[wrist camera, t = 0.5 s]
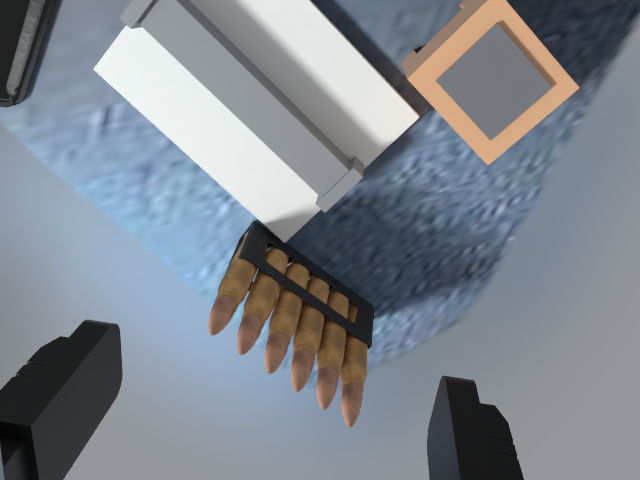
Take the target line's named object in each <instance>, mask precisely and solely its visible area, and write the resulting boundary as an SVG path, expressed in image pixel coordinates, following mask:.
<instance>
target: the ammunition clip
mask: <svg viewBox="0 0 640 480" xmlns="http://www.w3.org/2000/svg"><path fill="white" fill-rule="evenodd" d="M257 269H259V270H258V272H257V275H256V277H255V279H254V282H252V281H253V278H254V276H255V274H256V271H257ZM280 285H281V286H280ZM279 288H280V289H279ZM248 291H249V294H248V297H247V299H246V302H245V304H244V314H243V317H242V321H241V324H240V327H239V331H238V336H237V348H238V352H239V354H240V355H243V354H245V353H247V352H248V351H249V350H250V349H251V348H252V347H253V345H254V344H255V342H256V340H257V339H258V337H259V335H260V333H261V330H262V328H263V326H264V324H265V321H266V320H267V319H268V317H269V316H270V314H271V312H272V309H273V312H272V315H271V318H270V322H269V334H268V341H267V344H266V350H265V367H266V370H267V372H268V373H269V374H272V373H273V372H274V371H276V370H277V369H278V367H279V366H280V364H281V363H282V361H283V359H284V357H285V355H286V352H287V349H288V345H289V344H290V341H291V338H292V336H293V334H294V339H293V348H294V351H293V359H292V365H291V379H292V385H293V388H294V390H295V391H296V392H299V391H300V390H301V389H303V387H304V386H305V384H306V383H307V381H308V379H309V377H310V374H311V371H312V367H313V362H314V360H315V356H316V352H317V365H318V369H317V385H316V386H317V397H318V401H319V404H320V407H321V408H322V409H323V410H325V409H327V408H328V406H329V405H330V403H331V402H332V400H333V398H334V395H335V392H336V388H337V383H338V378H339V372H340V379H341V392H342V394H341V405H342V412H343V416H344V419H345V422H346V424H347V425H348V426H349V427H352V426H353V425H354V423H355V422H356V420H357V418H358V415H359V412H360V408H361V403H362V393H363V385H364V382H365V379H366V374H367V349H369V348H370V347H371V346H372V331H373V319H374V307H373V306H372V305H371V304H369V303H368V302H367V301H365V300H364V299H362V298H361V297H360V296H358V295H357V294H355V293H354V292H353V291H351V290H350V289H349V288H347V287H346V286H344V285H343V284H342V283H340V282H339V281H337V280H336V279H335V278H333V277H332V276H331V275H329V274H328V273H326V272H325V271H324V270H322V269H321V268H319V267H318V266H317V265H315V264H314V263H313V262H311V261H310V260H308V259H307V258H306V257H304V256H303V255H301V254H300V253H299V252H297V251H296V250H295V249H293V248H292V247H290V246H289V245H288V244H286V243H284V242H283V241H282V240H281V239H279V238H278V237H277V236H275V235H274V234H272V233H271V232H270V231H268V230H267V229H265V228H264V227H263V226H261V225H260V224H259V223H257V222H256V221H254V222H252V224H251V225H250V226H249V228H248V229H247V230H246V231H245V233H244V234H243V235H242V237H241V238H240V239H239V242H238V244H237V247H236V249H235V251H234V254H233V256H232V259H231V261H230V263H229V266H228V268H227V271H226V273H225V276H224V278H223V279H222V281H221V283H220V285H219V289H218V295H217V297H216V300H215V303H214V305H213V307H212V310H211V313H210V317H209V326H208V329H209V333H210V335H212V336H213V335H216V334H218V333H219V332H220V331H221V330H223V329H224V327H225V326H226V325H227V324H228V323H229V321H230V320H231V318H232V316H233V314H234V312H235V311H236V309H237V307H238V305H239V304H240V303H241V302H242V301H243V300H244V298H245V296H246V294H247V292H248ZM278 291H279V292H278ZM277 294H278V296H277ZM276 297H277V299H276ZM294 332H295V333H294ZM367 345H368V348H367Z"/></svg>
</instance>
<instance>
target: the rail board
mask: <svg viewBox="0 0 640 480" xmlns="http://www.w3.org/2000/svg"><path fill="white" fill-rule="evenodd" d="M119 18H120V19H121V20H122V21H123V22H124V23H125V24H126V26H125V28H124V29H123V30H122V32H121V33H120V34H119V36H118V37H117V38H116V40H115V41H114V42H113V44H112V45H111V46H110V48H109V49H108V50H107V52H106V53H105V54H104V56H103V57H102V58H101V60H100V61H99V62H98V64H97V65H96V66H95V68H94V70H95V71H96V72H97V73H98V74H99V75H100V76H101V77H102V78H103V79H105V80H106V81H107V82H108V83H109V84H110V85H111V86H112V87H113V88H114V89H116V90H117V91H118V92H119V93H120V94H121V95H122V96H123V97H124V98H125V99H127V100H128V101H129V102H130V103H131V104H132V105H133V106H134V107H135V108H136V109H138V110H139V111H140V112H141V113H142V114H143V115H144V116H145V117H146V118H147V119H149V120H150V121H151V122H152V123H153V124H154V125H155V126H156V127H157V128H158V129H160V130H161V131H162V132H163V133H164V134H165V135H166V136H167V137H168V138H169V139H171V140H172V141H173V142H174V143H175V144H176V145H177V146H178V147H179V148H180V149H182V150H183V151H184V152H185V153H186V154H187V155H188V156H189V157H190V158H191V159H193V160H194V161H195V162H196V163H197V164H198V165H199V166H200V167H201V168H202V169H204V170H205V171H206V172H207V173H208V174H209V175H210V176H211V177H212V178H213V179H215V180H216V181H217V182H218V183H219V184H220V185H221V186H222V187H223V188H224V189H226V190H227V191H228V192H229V193H230V194H231V195H232V196H233V197H234V198H235V199H237V200H238V201H239V202H240V203H241V204H242V205H243V206H244V207H245V208H246V209H248V210H249V211H250V212H251V213H252V214H253V215H254V216H255V217H256V218H257V219H259V220H260V221H261V222H262V223H263V224H264V225H265V226H266V227H267V228H268V229H270V230H271V231H272V232H273V233H274V234H275V235H276V236H277V237H278V238H279V239H281V240H282V241H283V242H284V243H286V242H287V241H288V240H289V239H290V238H291V237H292V236H293V235H294V234H295V233H296V232H297V231H298V230H299V229H301V228H302V227H303V226H304V225H305V224H306V223H307V222H308V221H309V220H310V219H311V218H312V217H313V216H314V215H316V214H317V213H318V212H319V211H320V210H322V211H324V212H327V211H328V210H329V209H330V208H331V207H332V206H333V205H334V204H335V203H336V202H337V201H338V200H340V199H341V198H342V197H343V196H344V195H345V194H346V193H347V192H348V191H349V190H350V189H351V188H352V187H354V186H355V185H356V184H357V183H358V182H359V181H360V180H361V179H362V178H363V175H364V169H365V168H366V167H367V166H368V165H369V164H370V163H371V162H372V161H373V160H374V159H376V158H377V157H378V156H379V155H380V154H381V153H382V152H383V151H384V150H385V149H386V148H387V147H388V146H389V145H391V144H392V143H393V142H394V141H395V140H396V139H397V138H398V137H399V136H400V135H401V134H402V133H403V132H404V131H406V130H407V129H408V128H409V127H410V126H411V125H412V124H413V123H414V122H415V121H416V120H417V119H418V118H419V114H418V113H417V112H416V111H415V110H414V109H413V108H412V107H411V106H410V105H409V104H408V102H407V101H406V100H405V99H404V98H403V97H402V96H401V95H400V94H399V93H398V92H397V91H396V90H395V89H394V88H393V87H392V86H391V84H390V83H389V82H388V81H387V80H386V79H385V78H384V77H383V76H382V75H381V74H380V73H379V72H378V71H377V70H376V69H375V68H374V66H373V65H372V64H371V63H370V62H369V61H368V60H367V59H366V58H365V57H364V56H363V55H362V54H361V53H360V52H359V51H358V50H357V48H356V47H355V46H354V45H353V44H352V43H351V42H350V41H349V40H348V39H347V38H346V37H345V36H344V35H343V34H342V33H341V32H340V30H339V29H338V28H337V27H336V26H335V25H334V24H333V23H332V22H331V21H330V20H329V19H328V18H327V17H326V16H325V15H324V14H323V12H322V11H321V10H320V9H319V8H318V7H317V6H316V5H315V4H314V3H313V2H312V1H311V0H132V1H131V2H130V4H129V5H128V7H127V8H126V9H125V11H124V12H123V13H122V15H121V16H120V17H119Z"/></svg>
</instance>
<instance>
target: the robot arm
mask: <svg viewBox="0 0 640 480" xmlns="http://www.w3.org/2000/svg"><path fill="white" fill-rule="evenodd" d="M121 382H122V357H121V340H120V329H119V326H118V325H117V324H113V323H106V322H100V321H94V320H85V321H83V322H82V324H81V325H80V326H79V327H78V328H77V329H76V330H75V331H74V333H73V334H72V335H71V336H70V337H69V338H68V337H61V336H60V337H59V338H57V339H55V340H53V341H51V342H50V343H48V344H46V345H44V346H43V347H41V348H40V349H39V350H38V351H37V352H36V353H35V354H34V355H33V356H32V357H31V358H30V359H29V360H28V362H27V365H24V366H23V367H22V368H21V369H20V370H19V371H18V372H17V373H16V376H15V377H12V378H11V379H10V381H9V382H8V383H7V384H6V385H5V386H4V387H3V388H2V389H1V390H0V480H63V479H64V478H65V476H66V474H67V473H68V471H69V470H70V468H71V467H72V465H73V464H74V462H75V461H76V459H77V458H78V456H79V455H80V453H81V451H82V450H83V448H84V447H85V445H86V444H87V442H88V441H89V439H90V438H91V436H92V435H93V433H94V431H95V430H96V428H97V427H98V425H99V424H100V422H101V421H102V419H103V418H104V416H105V414H106V413H107V411H108V410H109V408H110V407H111V405H112V403H113V402H114V400H115V399H116V397H117V395H118V393H119V390H120V386H121ZM427 454H428V465H429V477H430V480H524V479H523V475H522V471H521V468H520V464H519V461H518V460H517V453H516V450H515V446H514V444H513V439H512V435H511V432H510V428H509V425H508V422H507V421H506V419H505V418H504V417H503V416H502V414H501V413H500V412H499V410H498V409H497V408H496V406H494V405H488V404H481V403H480V401H479V397H478V393H477V388H476V384H475V381H473V380H468V379H462V378H455V377H449V376H442V378H441V380H440V384H439V387H438V392H437V395H436V399H435V404H434V407H433V412H432V416H431V419H430V423H429V429H428V437H427Z"/></svg>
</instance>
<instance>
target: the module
mask: <svg viewBox="0 0 640 480" xmlns="http://www.w3.org/2000/svg"><path fill="white" fill-rule="evenodd" d="M459 6H460V7H461V8H462V10H460V11H459V12H458V13H457V14H456V15H455V16H454V17H453V18H452V19H451V20H450V21H449V22H448V23H447V24H446V25H445V26H444V27H443V28H442V29H441V30H440V31H439V32H438V33H437V34H436V35H435V36H434V37H433V38H432V39H431V40H430V41H429V42H428V43H427V44H426V45H425V46H424V47H423V48H422V49H421V50H420V51H419V52H418V53H416V52H415V51H414V50H413V51H412V52H411V53H410V54H409V55H408V56H407V57H406V58H405V59H404V60H403V61H402V62H401V64H402V67H403V69H404V72H405V75H406V77H407V79H408V80H409V81H410V83H411V84H412V85H413V86H414V87H415V88H416V89H417V90H418V91H419V92H420V93H421V94H422V95H423V97H424V98H425V99H426V100H427V101H428V102H429V103H430V104H431V105H432V106H433V107H434V108H435V109H436V110H437V112H438V113H439V114H440V115H441V116H442V117H443V118H444V119H445V120H446V121H447V122H448V123H449V124H450V125H451V127H452V128H453V129H454V130H455V131H456V132H457V133H458V134H459V135H460V136H461V137H462V138H463V139H464V141H465V142H466V143H467V144H468V145H469V146H470V147H471V148H472V149H473V150H474V151H475V152H476V153H477V154H478V156H479V157H480V158H481V159H482V160H483V161H484V162H485V163H486V164H487V165H489V164H490V163H492V162H493V161H494V160H495V159H496V158H497V157H499V156H500V155H501V154H502V153H503V152H505V151H506V150H507V149H508V148H509V147H510V146H512V145H513V144H514V143H515V142H516V141H518V140H519V139H520V138H521V137H522V136H523V135H525V134H526V133H527V132H528V131H529V130H531V129H532V128H533V127H534V126H535V125H536V124H538V123H539V122H540V121H541V120H542V119H544V118H545V117H546V116H547V115H548V114H549V113H551V112H552V111H553V110H554V109H555V108H557V107H558V106H559V105H560V104H561V103H562V102H564V101H565V100H566V99H567V98H568V97H570V96H571V95H572V94H573V93H574V92H575V91H577V90H578V89H579V87H578V85H577V84H576V83H575V82H574V81H573V79H572V78H571V77H570V76H569V75H568V74H567V72H566V71H565V70H564V69H563V68H562V66H561V65H560V64H559V63H558V62H557V60H556V59H555V58H554V57H553V56H552V54H551V53H550V52H549V51H548V50H547V49H546V47H545V46H544V45H543V44H542V43H541V41H540V40H539V39H538V38H537V37H536V35H535V34H534V33H533V32H532V31H531V30H530V28H529V27H528V26H527V25H526V24H525V22H524V21H523V20H522V19H521V18H520V16H519V15H518V14H517V13H516V12H515V10H514V9H513V8H512V7H511V6H510V5H509V3H508V2H507V1H506V0H463V1H462V2H461V3H460V4H459Z"/></svg>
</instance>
